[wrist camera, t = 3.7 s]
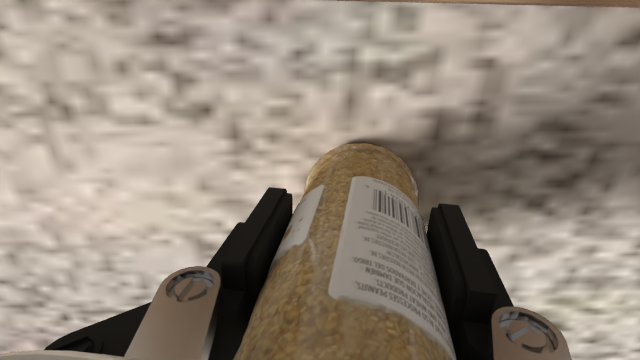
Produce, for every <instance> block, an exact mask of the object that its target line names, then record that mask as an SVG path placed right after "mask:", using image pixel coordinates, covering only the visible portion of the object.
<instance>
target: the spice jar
mask: <svg viewBox="0 0 640 360" xmlns="http://www.w3.org/2000/svg"><path fill="white" fill-rule="evenodd" d="M417 204H418V188H417V184H416V181H415V179H414V177H413V174H412V172H411V170H410V169H409V168H408V167H407V165H406V164H405V162H404V161H403V160H402V159H401V158H400V157H398V156H397V155H395V154H394V153H393V152H391V151H390V150H387V149H385V148H384V147H380V146H376V145H372V144H367V143H362V144H358V143H355V144H345V145H341V146H339V147H337V148H335V149H333V150H331V151H329V152H328V153H326V154H325V155H324V156H323V157H322V158H321V159H319V161H318V162H317V163H316V164H315V165H314V166H313V168H312V169H311V171H310V173H309V175H308V178H307V181H306V185H305V190H304V195H303V197H302V199H301V201H300V203H299V204H298V205H297V207H296V209H295V211H294V213H293V215H292V218H291V220H290V222H289V225H288V227H287V229H286V231H285V234H284V236H283V238H282V241H281V243H280V245H279V247H278V250H277V252H276V254H275V257H274V259H273V261H272V264H271V266H270V269H269V272H268V275H267V278H266V280H265V283H264V285H263V287H262V289H261V291H260V293H259V296H258V299H257V301H256V304H255V306H254V309H253V312H252V315H251V318H250V321H249V325H248V327H247V329H246V332H245V334H244V336H243V339H242V343H241V345H240V347H239V349H238V351H237V353H236V355H235V357H234V359H233V360H457V359H456V355H455V351H454V347H453V343H452V339H451V335H450V331H449V327H448V322H447V318H446V313H445V309H444V305H443V301H442V297H441V293H440V288H439V284H438V280H437V276H436V272H435V267H434V263H433V259H432V255H431V251H430V247H429V242H428V238H427V234H426V230H425V226H424V223H423V219H422V217H421V215H420V213H419V210H418V205H417Z"/></svg>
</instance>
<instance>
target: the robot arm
mask: <svg viewBox="0 0 640 360" xmlns="http://www.w3.org/2000/svg"><path fill="white" fill-rule="evenodd" d="M291 218H292V194H289V193H287V190H286V189H281V188H271V187H269V188H268V189H267V191H266V192H265V194H264V195H263V197H262V198H261V200H260V201H259V203H258V204H257V206H256V207H255V208H254V210H253V211H252V213H251V214H250V216H249V217H248V219H247V220H246V222H245V223H242V222H240V223H238V224H237V225H236V226H235V227H234V229H233V230H232V232H231V233H230V234H229V236H228V237H227V239H226V240H225V241H224V243H223V244H222V246H221V247H220V248H219V250H218V251H217V253H216V254H215V255H214V257H213V258H212V260H211V261H210V262H209V264H208V265H207V267H201V266H195V267H188V268H185V269H181V270H179V271H177V272H175V273H173V274H171V275H170V276H168V277H167V278H166V279H165V280H164V281H163V282H162V284H161V285H160V287H159V289H158V290H157V292H156V294H155V296H154V298H153V300H152V302H150V303H147V304H145V305H142V306H140V307H137V308H134V309H132V310H129V311H127V312H124V313H121V314H119V315H116V316H114V317H111V318H108V319H106V320H103V321H101V322H98V323H95V324H93V325H90V326H88V327H85V328H82V329H80V330H77V331H75V332H72V333H70V334H68V335H65V336H63V337H61V338H59V339H58V340H56V341H55V342H53V343H52V344H50V345H49V346H47V347H46V348H45V349H44V350H36V351H21V352H9V353H3V354H0V360H233V359H234V357H235V355H236V353H237V351H238V349H239V347H240V345H241V343H242V339H243V336H244V334H245V332H246V329H247V327H248V325H249V321H250V318H251V315H252V312H253V309H254V306H255V304H256V301H257V299H258V296H259V293H260V291H261V289H262V287H263V285H264V283H265V280H266V278H267V275H268V272H269V269H270V266H271V264H272V261H273V259H274V257H275V254H276V252H277V250H278V247H279V245H280V243H281V241H282V238H283V236H284V234H285V231H286V229H287V227H288V225H289V222H290V220H291ZM427 238H428V242H429V247H430V251H431V255H432V259H433V263H434V267H435V272H436V276H437V280H438V284H439V288H440V293H441V297H442V301H443V305H444V309H445V313H446V318H447V322H448V327H449V331H450V335H451V339H452V343H453V347H454V351H455V355H456V359H457V360H572V359H571V356H570V352H569V349H568V346H567V342H566V340H565V338H564V336H563V334H562V333H561V332H560V331H559V329H558V328H557V327H556V326H555V325H554V324H552V323H551V322H550V321H549V320H547V319H546V318H544V317H543V316H541V315H539V314H537V313H535V312H533V311H530V310H527V309H524V308H519V307H514V306H513V304H512V302H511V300H510V297H509V295H508V293H507V291H506V289H505V287H504V285H503V283H502V281H501V279H500V276H499V274H498V272H497V270H496V268H495V266H494V264H493V262H492V260H491V258H490V256H489V253H488V252H487V250H485V249H479V248H477V246H476V244H475V241H474V239H473V237H472V235H471V232H470V230H469V228H468V225H467V223H466V221H465V219H464V216H463V214H462V212H461V209H460V207H459V206H458V205H449V204H439V205H438V208H433V207H432V209H431V213H430V219H429V224H428V230H427Z"/></svg>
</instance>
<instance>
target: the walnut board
mask: <svg viewBox="0 0 640 360" xmlns="http://www.w3.org/2000/svg"><path fill="white" fill-rule="evenodd" d="M337 1H380V2H422V3H465V4H507V5H550V6H592V7H635V8H640V0H337Z"/></svg>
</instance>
